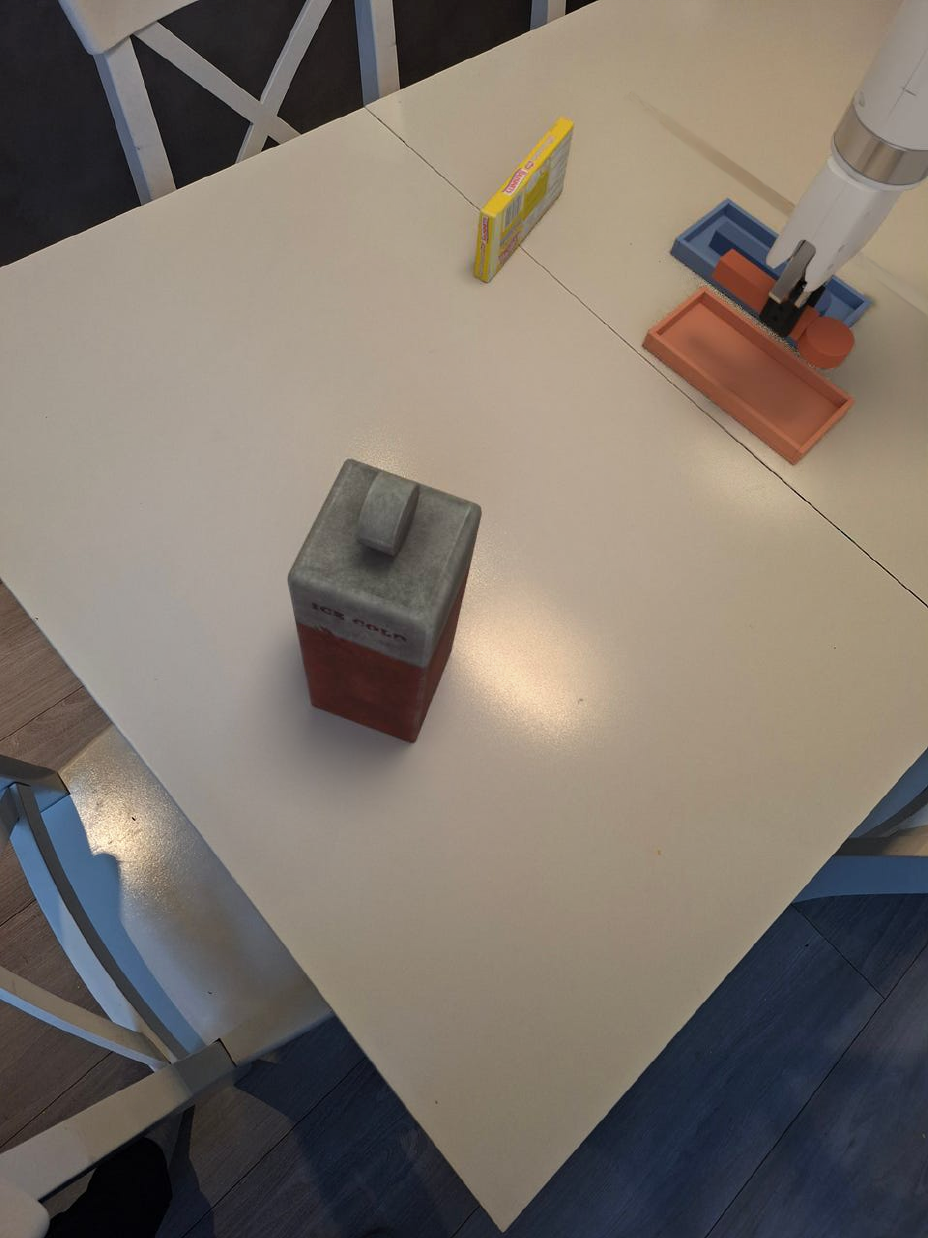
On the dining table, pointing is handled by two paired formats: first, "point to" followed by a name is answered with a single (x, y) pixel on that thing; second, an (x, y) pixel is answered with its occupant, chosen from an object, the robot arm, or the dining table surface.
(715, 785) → the dining table surface
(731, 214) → the blue tray
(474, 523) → the red grey lidded canister
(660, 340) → the terracotta tray
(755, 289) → the terracotta spoon
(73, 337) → the dining table surface
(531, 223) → the candy box
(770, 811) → the dining table surface
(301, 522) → the dining table surface
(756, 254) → the blue spoon
